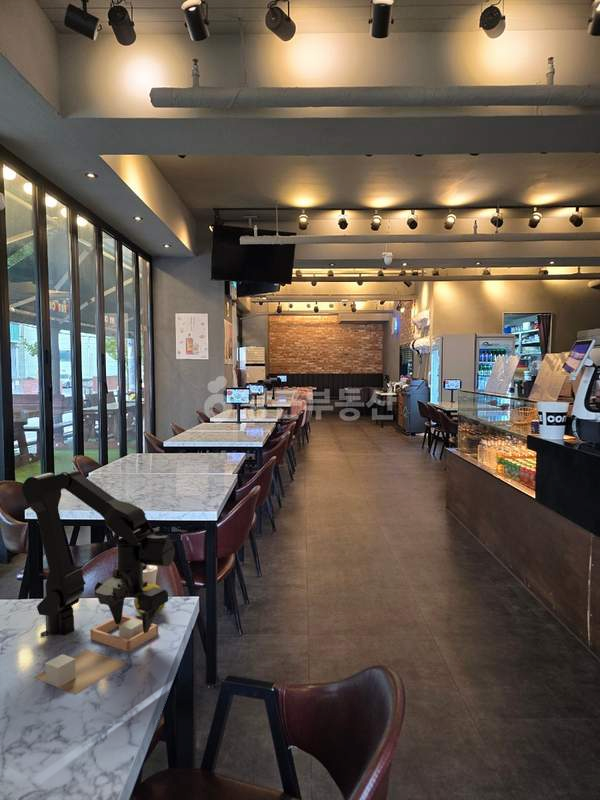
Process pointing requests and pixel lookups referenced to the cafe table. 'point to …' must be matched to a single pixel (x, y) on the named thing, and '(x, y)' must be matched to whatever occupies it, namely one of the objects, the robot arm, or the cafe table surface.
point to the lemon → (146, 590)
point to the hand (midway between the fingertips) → (131, 627)
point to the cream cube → (130, 629)
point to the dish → (118, 642)
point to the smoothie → (150, 574)
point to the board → (88, 670)
